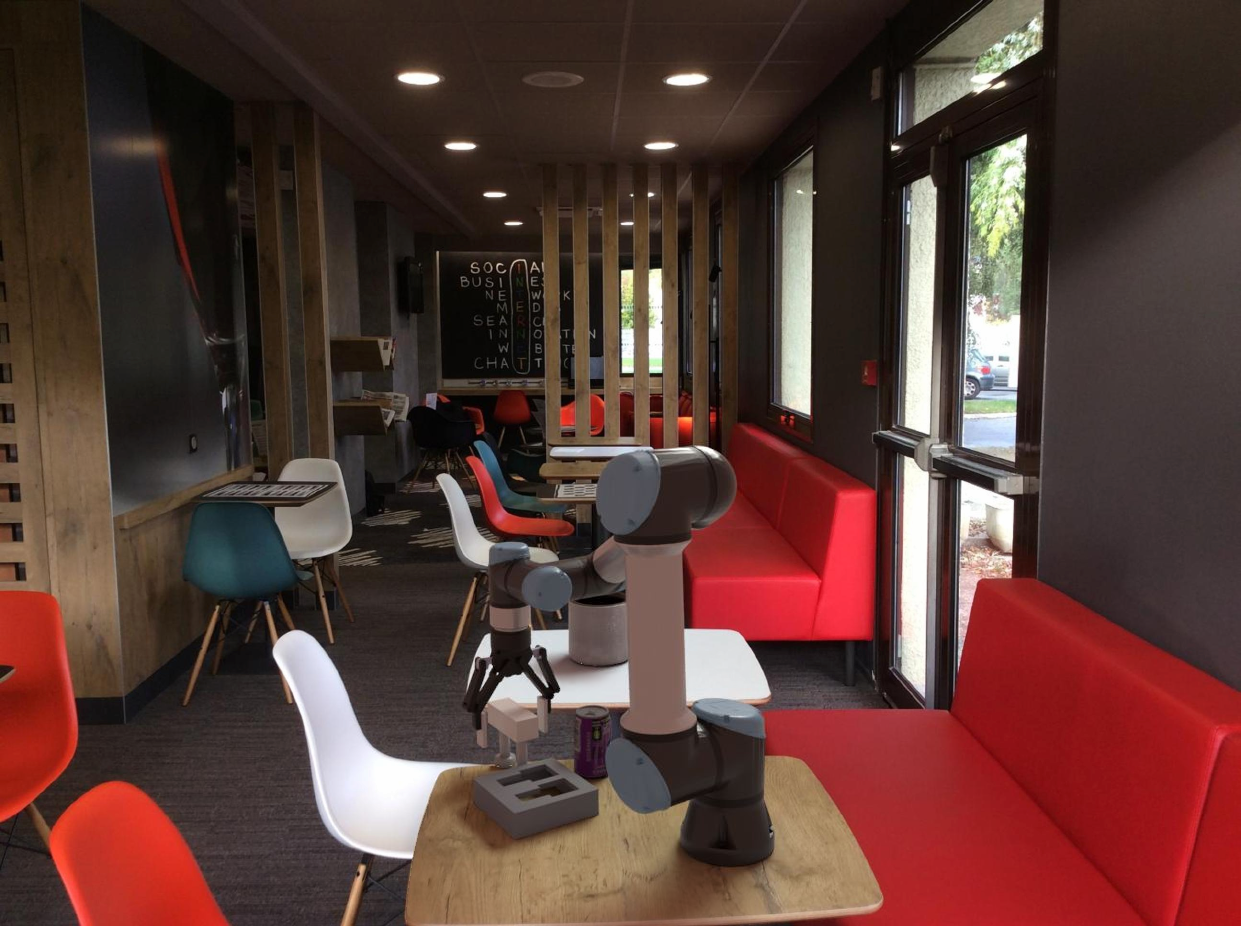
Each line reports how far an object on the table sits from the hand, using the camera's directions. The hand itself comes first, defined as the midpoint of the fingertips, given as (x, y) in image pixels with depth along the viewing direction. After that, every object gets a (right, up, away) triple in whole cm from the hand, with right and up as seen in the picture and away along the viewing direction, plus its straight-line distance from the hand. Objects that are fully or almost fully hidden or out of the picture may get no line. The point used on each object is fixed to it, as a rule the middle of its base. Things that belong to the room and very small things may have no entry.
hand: (512, 737), depth 195 cm
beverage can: (+15, -7, 0) cm, 16 cm away
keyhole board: (+5, -8, -15) cm, 18 cm away
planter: (+15, +2, +67) cm, 69 cm away
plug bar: (0, -6, +1) cm, 6 cm away
